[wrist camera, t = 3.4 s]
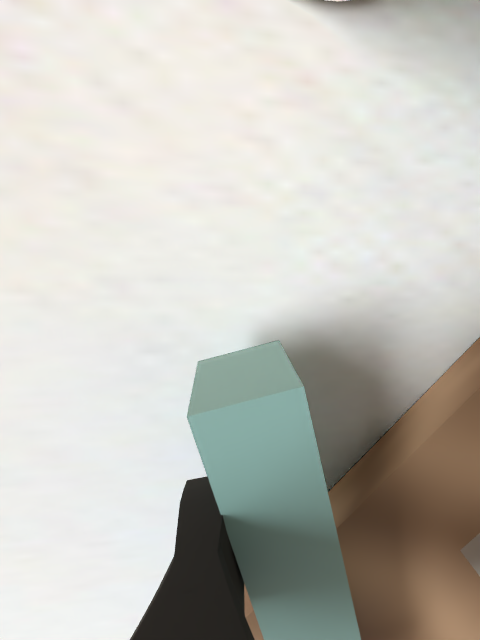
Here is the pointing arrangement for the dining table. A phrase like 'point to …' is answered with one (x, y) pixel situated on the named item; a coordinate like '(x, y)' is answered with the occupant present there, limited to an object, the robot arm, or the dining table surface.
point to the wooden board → (416, 518)
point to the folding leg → (272, 492)
